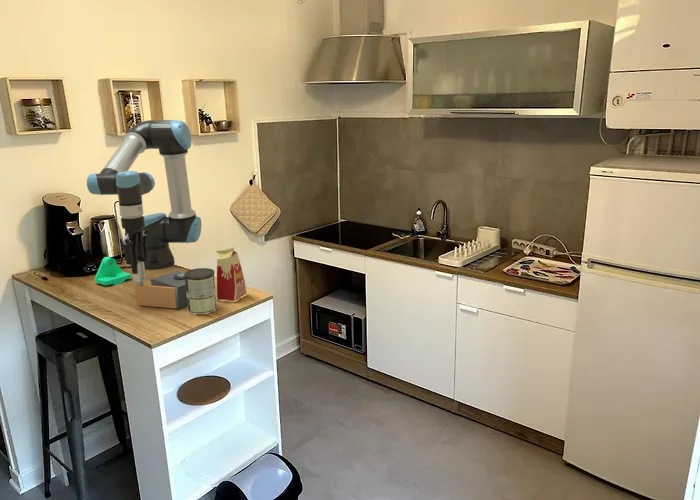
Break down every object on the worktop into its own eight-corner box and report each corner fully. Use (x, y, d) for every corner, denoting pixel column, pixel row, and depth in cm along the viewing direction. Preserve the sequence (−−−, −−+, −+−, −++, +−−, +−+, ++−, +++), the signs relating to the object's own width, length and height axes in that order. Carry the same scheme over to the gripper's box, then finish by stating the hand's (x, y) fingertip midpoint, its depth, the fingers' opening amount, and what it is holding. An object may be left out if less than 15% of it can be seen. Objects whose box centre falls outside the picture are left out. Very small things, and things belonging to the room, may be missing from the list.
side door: (139, 303, 197) (134, 263, 193) (180, 307, 193) (176, 266, 189) (136, 305, 195) (131, 264, 191) (177, 309, 191) (173, 267, 187)
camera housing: (179, 290, 212) (177, 268, 209) (206, 298, 203) (204, 275, 200) (152, 299, 203) (150, 276, 200) (179, 308, 194) (177, 284, 191)
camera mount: (106, 288, 215) (102, 263, 213) (95, 284, 220) (92, 260, 217) (132, 280, 225) (129, 256, 222) (122, 276, 229) (119, 253, 226)
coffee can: (181, 310, 191) (178, 273, 188) (205, 302, 199) (202, 266, 195) (199, 317, 185) (195, 278, 181) (223, 308, 193) (220, 271, 189)
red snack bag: (247, 294, 207) (244, 244, 201) (236, 303, 198) (232, 251, 193) (225, 292, 209) (222, 243, 204) (213, 300, 201) (209, 249, 195)
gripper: (129, 221, 179) (137, 288, 185) (153, 212, 193) (160, 274, 199) (109, 220, 180) (117, 286, 187) (135, 211, 194) (142, 273, 201)
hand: (139, 280), depth 193 cm, fingers closed on side door, 2 cm apart
